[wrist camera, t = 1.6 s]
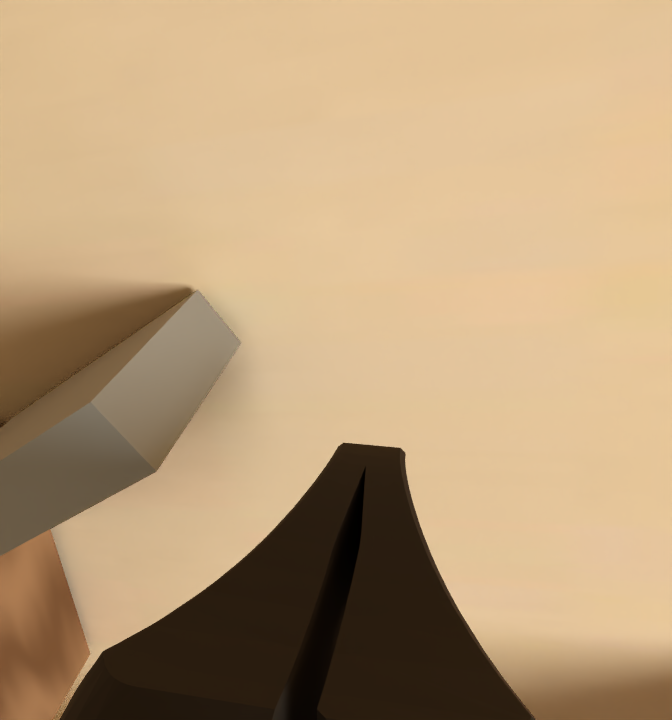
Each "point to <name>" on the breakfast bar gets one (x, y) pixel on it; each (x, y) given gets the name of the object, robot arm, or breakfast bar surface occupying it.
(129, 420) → the swing leaf
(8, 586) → the fixed leaf
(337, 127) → the breakfast bar surface
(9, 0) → the breakfast bar surface
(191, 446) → the breakfast bar surface
